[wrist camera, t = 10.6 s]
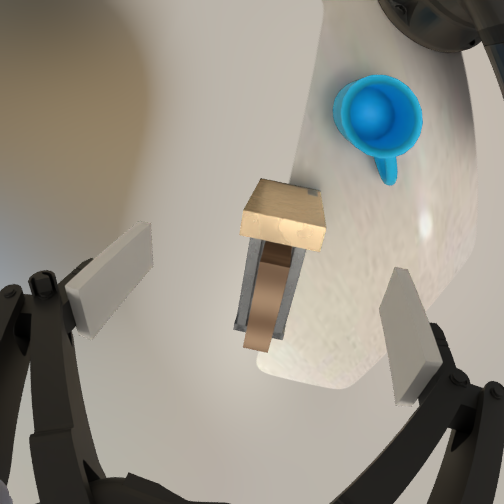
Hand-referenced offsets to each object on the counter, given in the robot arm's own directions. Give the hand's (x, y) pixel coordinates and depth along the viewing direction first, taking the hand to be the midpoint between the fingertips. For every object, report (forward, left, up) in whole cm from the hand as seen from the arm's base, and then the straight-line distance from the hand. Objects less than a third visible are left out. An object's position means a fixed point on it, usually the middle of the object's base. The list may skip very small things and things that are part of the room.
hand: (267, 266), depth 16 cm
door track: (+13, +1, -24) cm, 27 cm away
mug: (-7, +9, -24) cm, 27 cm away
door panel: (+13, +1, -23) cm, 27 cm away
